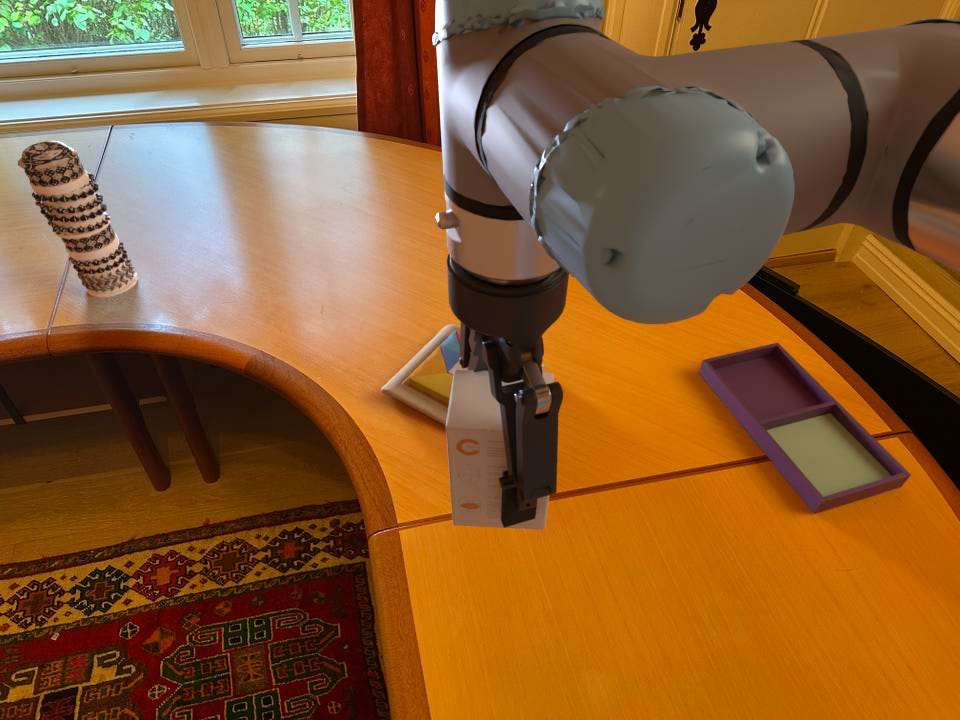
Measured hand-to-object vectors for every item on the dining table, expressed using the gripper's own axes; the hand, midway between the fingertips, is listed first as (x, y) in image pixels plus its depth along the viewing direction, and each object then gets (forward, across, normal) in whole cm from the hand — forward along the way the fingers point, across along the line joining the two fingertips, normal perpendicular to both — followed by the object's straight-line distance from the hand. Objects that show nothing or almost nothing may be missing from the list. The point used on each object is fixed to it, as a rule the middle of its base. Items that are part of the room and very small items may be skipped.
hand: (500, 477), depth 52 cm
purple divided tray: (+21, -10, +47) cm, 52 cm away
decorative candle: (+21, -75, -46) cm, 91 cm away
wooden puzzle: (+21, -32, +6) cm, 38 cm away
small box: (+3, 0, 0) cm, 3 cm away
